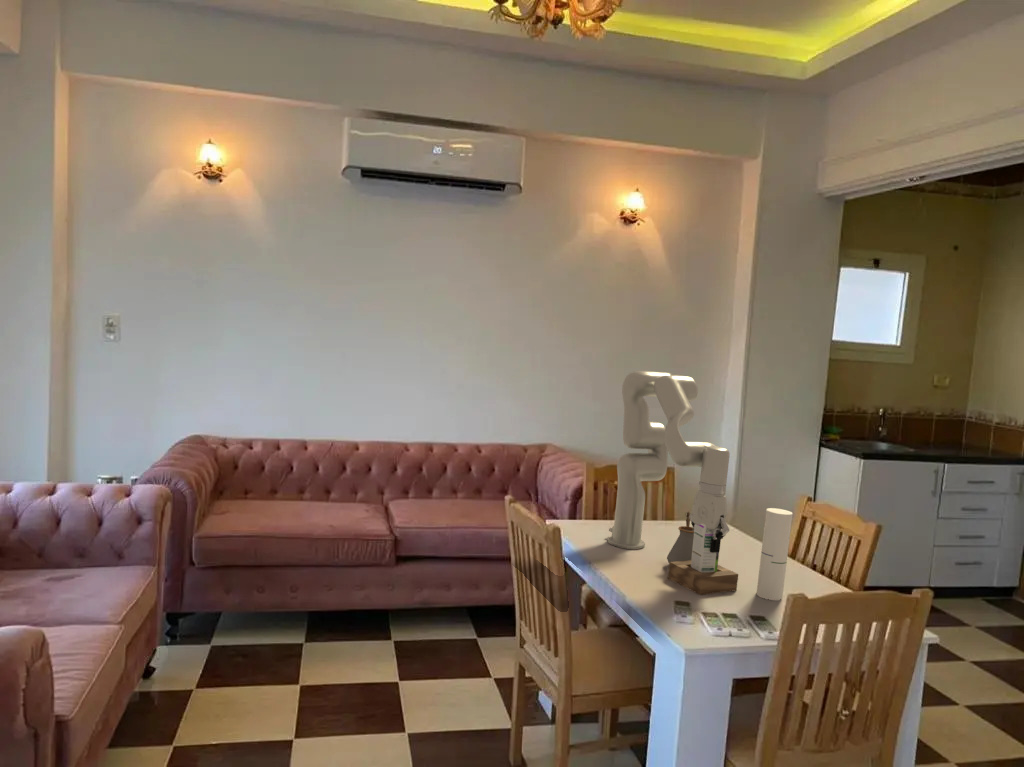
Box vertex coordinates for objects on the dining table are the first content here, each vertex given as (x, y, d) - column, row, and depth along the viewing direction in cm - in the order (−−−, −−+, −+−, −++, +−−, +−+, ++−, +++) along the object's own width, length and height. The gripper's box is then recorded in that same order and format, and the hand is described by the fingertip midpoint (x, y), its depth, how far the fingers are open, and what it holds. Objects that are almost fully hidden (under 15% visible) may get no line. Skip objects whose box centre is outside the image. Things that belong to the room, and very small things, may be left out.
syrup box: (699, 573, 220) (705, 524, 219) (689, 566, 226) (695, 519, 225) (717, 573, 222) (722, 525, 221) (706, 566, 227) (712, 519, 226)
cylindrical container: (761, 589, 224) (771, 506, 223) (785, 596, 220) (796, 512, 218) (752, 594, 219) (762, 510, 217) (777, 602, 214) (787, 515, 213)
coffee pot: (703, 577, 231) (709, 529, 230) (665, 571, 234) (670, 523, 233) (701, 557, 252) (706, 513, 251) (666, 552, 254) (671, 508, 253)
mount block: (667, 578, 227) (669, 562, 227) (703, 574, 234) (705, 559, 233) (699, 594, 215) (701, 577, 214) (736, 590, 221) (738, 574, 221)
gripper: (682, 482, 228) (676, 540, 229) (723, 496, 213) (717, 558, 214) (701, 482, 231) (695, 539, 233) (743, 495, 216) (736, 556, 218)
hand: (705, 547), depth 223 cm, fingers closed on syrup box, 6 cm apart
